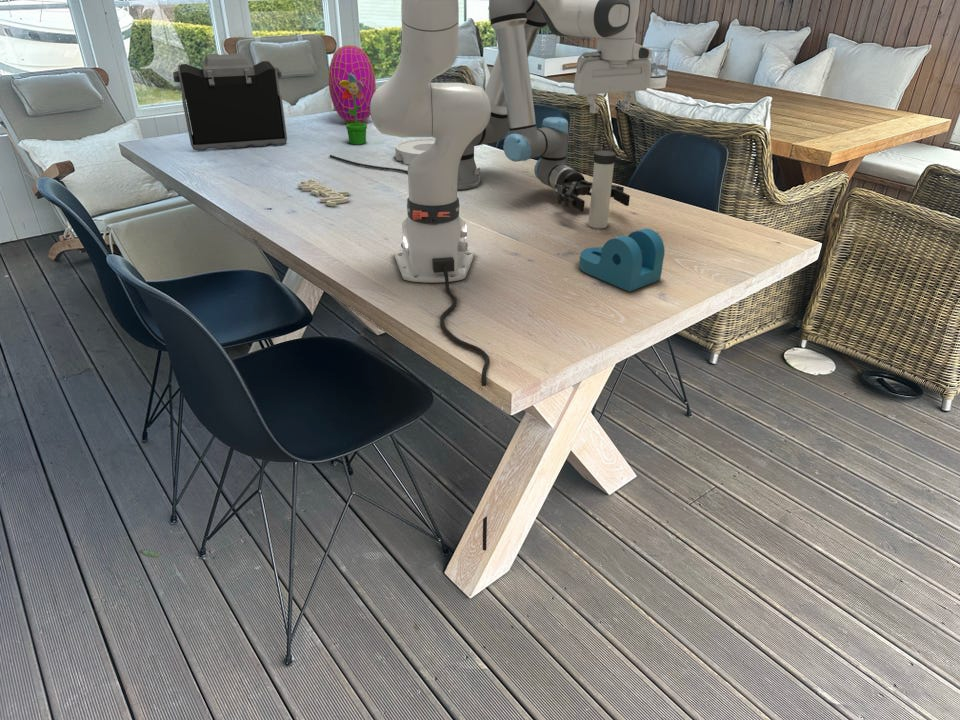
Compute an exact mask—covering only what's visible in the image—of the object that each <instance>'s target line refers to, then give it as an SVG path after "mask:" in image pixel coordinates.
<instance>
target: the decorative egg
mask: <svg viewBox="0 0 960 720" xmlns="http://www.w3.org/2000/svg"><path fill="white" fill-rule="evenodd" d="M348 73H350V74H352V75H354V76H355V78H356V83H357V82H358V81H361V82H362V84H363V89H361V90H360V91H361V92H362V93H363V98H362V100H359V99H358V98H357V97H356V95H355V103H356V106H359V109H358V110H356V116H357V123H364V122H365V121H366V120H368V118H369V117H371V115H370V103H371V99H372V97H373V94H374V93H375V91H376V90H377V83H376V82H377V81H376V75H375V71H374V68H373V63H372V62H371V60H370V57H369V56H368V54H367V53H366V51H365V50H363V48H361V47H359V46H357V45H353V44H352V45H351V44H348V45H343V46H340V47H338V48H337V49H336V51H334V53H333V56H332V57H331V61H330V63H329V69H328V90H329V96H330V99H331V103H332V105H333V108H334V110H335V111H336V113H337V114H338V116H339V118H341V119H342V120H343V121H344V122H346V123H348V124H349V123H355V115H351V114H349V112H348V111H349V110H354V100H353V95H352V96H351V97H350V98H348V99H341V97H342V94H343V93H344V91H345V90H347V89H346V88H343V87H342V86H341V85H340V84H339V83H340V82H341V81H342V80H346V81H349V78H348Z"/></svg>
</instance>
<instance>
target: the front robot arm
mask: <svg viewBox="0 0 960 720" xmlns="http://www.w3.org/2000/svg"><path fill="white" fill-rule="evenodd" d="M400 1H401V4H400V5H401V6H400V9H401V10H400V13H401V14H400V15H401V19H400V20H401V50H400V57H399V62H398V64H397V65H396V69H395V70H394V72H393V74H392V75H391V76H390V77H389V78H388V79H387V80H386V82H384V83H383V84H381V85H380V86H379V87H378V88H376V91H375V93H374V94H373V97H372V99H371V103H370V118H371V121H372V123H373V125H374V127H375V128H376V130H377V131H378V132H379V133H380V134H381V135H387V136H391V137H397V138H432V139H436V140H435V143H434V144H433V146H432V147H431V148H430V149H428V150H427V151H425V152H423V153H421V154H419V155H417V156H416V157H415V158H414V159H413V160H412V161H411V162H410V164H409V165H408V168H407V171H408V173H407V184H408V186H407V187H408V198H407V199H406V211H407V213H406V214H407V217H406V218H405V219H404V220H403V221H402V223H401V231H402V242H401V244H400V247H401V249H400V250H397V251H395V252H394V259H395V262H396V264H397V267H398V269H399V272H400V274H401V277H402V279H403V280H405V281H408V282H414V283H431V284H433V283H435V284H437V283H444V286H445V291H446V293H447V295H448V296H449V297H450V298H451V300H452V304H451V305H450V306H449V307H448V308H447V309H446V310H445V311H443V312H442V314H441V315H440V317H439V318H440V319H439V324H440V328H441V329H442V331H443V332H444V333H445V334H446V335H447V336H448V337H449V338H450V339H451V340H452V341H454V342H455V343H457V344H459V345H461V346H463V347H465V348H468V349H470V350H473V351H476V352H477V353H479V354H480V355H481V356H482V357H483V359H484V360H485V361H484V364H483V367H482V369H481V386H482V387H487V372H488V369H489V367H490V362H491V361H490V360H491V359H490V357H489V355H488V354H487V352H486V351H485V350H483V349H482V348H481V347H479V346H476V345H475V344H472V343H469V342H466V341H464V340H461V339H460V338H458V337H456V336H455V335H454V334H453V333H452V332H451V331H449V329H448V328H447V326H446V324H445V318H446V317H447V315H448V314H450V312H452V311H453V310H454V309H455V308H456V306H457V305H458V299H457V297H456V296H455V295H454V294H453V293H452V291H451V289H450V283H451V282H457V281H461V280H464V279H466V277H467V274H468V273H469V269H470V267H471V265H472V262H473V260H474V257H475V251H473V250H471V249H468V245H469V243H468V242H467V241H466V238H467V236H468V232H467V225H466V221H465V220H464V219H463V218H461V216H460V208H461V207H460V206H461V205H460V198H459V197H458V190H457V179H458V168H459V163H460V160H461V157H462V154H463V152H464V151H465V149H466V147H467V146H468V145H469V143H470V142H471V141H472V140H473V139H474V138H475V137H476V136H477V135H478V134H480V133H481V132H482V131H483V130H484V129H485V128H486V126H487V124H488V122H489V120H490V116H491V104H490V101H489V98H488V96H487V94H486V92H485V89H483V88H482V86H478V85H474V84H469V83H465V82H432V80H434V79H435V78H436V77H438V76H440V75H442V74H444V73H446V72H447V71H448V70H450V69H451V67H452V66H453V65H454V63H455V62H456V60H457V58H458V55H459V18H460V17H459V15H460V13H459V11H460V7H459V0H400ZM534 1H535V3H536V4H537V6H538V7H539V8H540V10H541V11H542V13H543V16H544V18H545V21H546V23H547V25H546V27H548V29H549V30H550V32H551V34H552V35H554V36H557V37H579V38H592V39H597V45H596V51H591V52H589V51H586V52H583V54H581V55H579V57H577V61H576V70H575V74H574V75H575V76H574V81H573V90H574V92H575V94H577V95H580V96H586V100H587V103H588V104H589V113H590V114H598V113H599V109H600V105H598V104H597V103H596V99H597V95H601V94H602V95H603V94H613V93H614V94H615V93H624V94H625V98H624V100H623V101H622V102H620V111H622V112H623V111H624V112H626V111H630V105H631V103H632V101H633V99H634V98H635V96H636V92H640V91H641V92H642V91H647V90H648V88H649V87H650V85H651V76H652V62H651V61H650V59H651V58H652V56H653V50H652V49H651V48H649V47H646V46H644V45H641V44H638V43H637V41H636V40H637V32H636V27H637V22H638V19H639V14H640V5H641V0H534ZM487 534H488V515H486V516H485V517H484V518H482V551H484V552H485V551H487V538H488V537H487V536H488V535H487Z"/></svg>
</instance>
